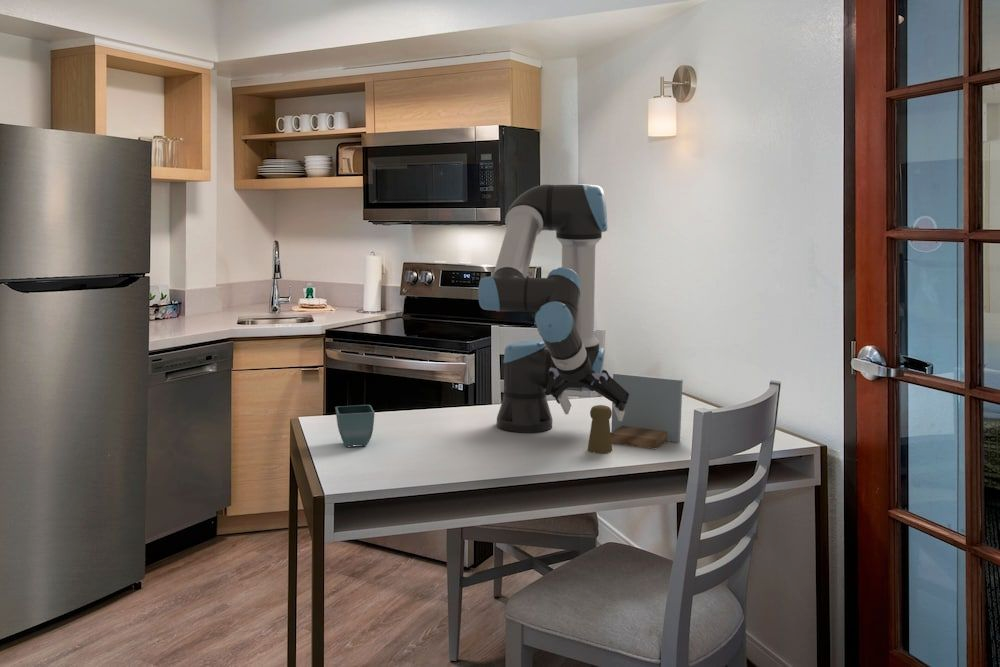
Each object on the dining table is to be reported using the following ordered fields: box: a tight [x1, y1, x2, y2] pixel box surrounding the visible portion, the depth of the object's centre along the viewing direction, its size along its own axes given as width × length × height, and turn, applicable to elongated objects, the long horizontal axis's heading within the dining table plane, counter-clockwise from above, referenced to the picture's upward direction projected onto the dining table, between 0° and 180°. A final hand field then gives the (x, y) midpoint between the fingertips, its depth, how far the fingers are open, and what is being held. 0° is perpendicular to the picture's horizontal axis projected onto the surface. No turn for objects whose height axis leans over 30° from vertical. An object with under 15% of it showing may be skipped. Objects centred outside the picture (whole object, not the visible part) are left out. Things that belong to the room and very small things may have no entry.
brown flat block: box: [610, 426, 668, 449], centre depth 216 cm, size 12×9×2 cm
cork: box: [587, 404, 613, 454], centre depth 207 cm, size 6×6×11 cm
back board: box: [610, 372, 684, 443], centre depth 219 cm, size 18×2×16 cm, turn 62°
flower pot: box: [334, 404, 376, 447], centre depth 209 cm, size 9×9×9 cm
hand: (594, 413), depth 201 cm, fingers open, 13 cm apart
